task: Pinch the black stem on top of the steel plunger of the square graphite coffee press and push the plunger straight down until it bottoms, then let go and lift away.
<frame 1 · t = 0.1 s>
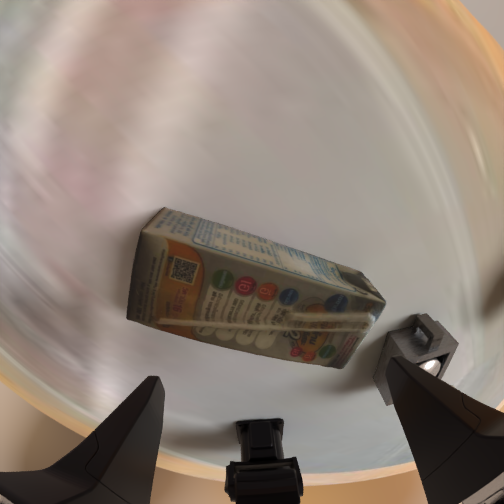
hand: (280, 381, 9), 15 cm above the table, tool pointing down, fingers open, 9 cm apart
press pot: (406, 351, 29), on the table
beverage carton: (255, 276, 24), on the table
plunger: (437, 397, 21), point 9 cm above the table, slide at 0.0 cm
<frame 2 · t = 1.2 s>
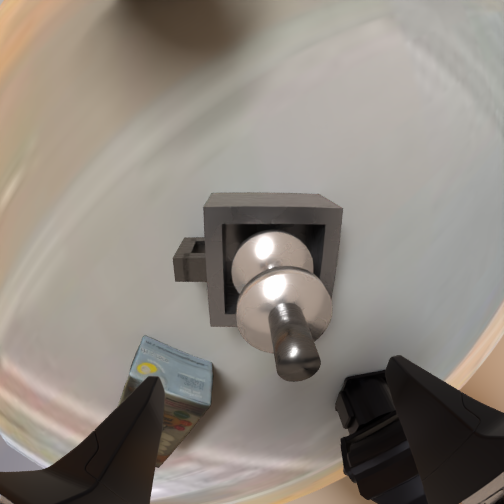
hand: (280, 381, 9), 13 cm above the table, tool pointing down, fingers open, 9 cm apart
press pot: (265, 244, 21), on the table
beverage carton: (156, 394, 28), on the table
plunger: (282, 304, 13), point 9 cm above the table, slide at 0.0 cm
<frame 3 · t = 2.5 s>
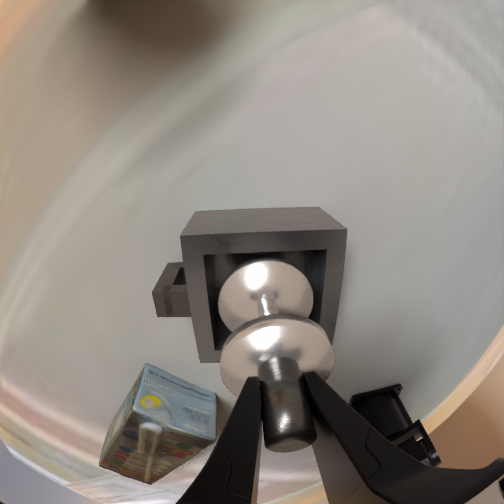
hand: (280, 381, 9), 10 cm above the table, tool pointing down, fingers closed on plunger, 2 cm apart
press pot: (259, 266, 19), on the table
beverage carton: (152, 416, 26), on the table
plunger: (275, 353, 11), point 9 cm above the table, slide at 0.0 cm, touching gripper
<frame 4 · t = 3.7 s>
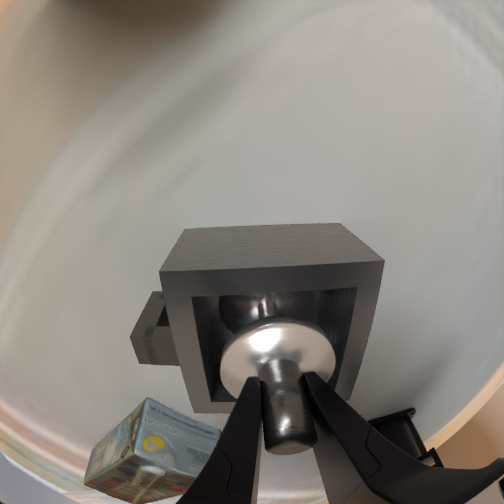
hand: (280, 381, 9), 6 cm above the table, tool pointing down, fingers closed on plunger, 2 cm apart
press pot: (264, 295, 15), on the table
beverage carton: (144, 441, 22), on the table
plunger: (275, 354, 11), point 5 cm above the table, slide at 3.8 cm, touching gripper
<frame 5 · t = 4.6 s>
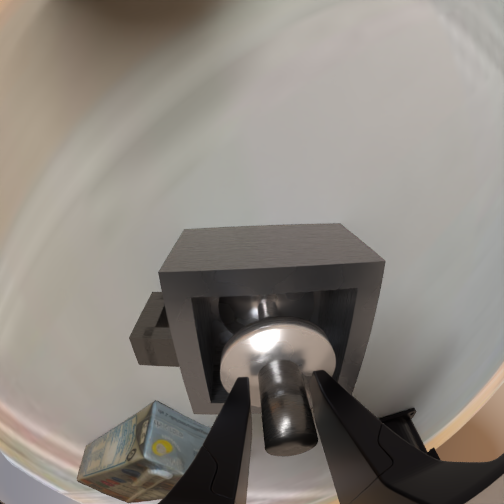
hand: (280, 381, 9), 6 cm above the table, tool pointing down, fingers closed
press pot: (264, 295, 15), on the table
beverage carton: (143, 441, 22), on the table
plunger: (275, 355, 10), point 5 cm above the table, slide at 3.8 cm
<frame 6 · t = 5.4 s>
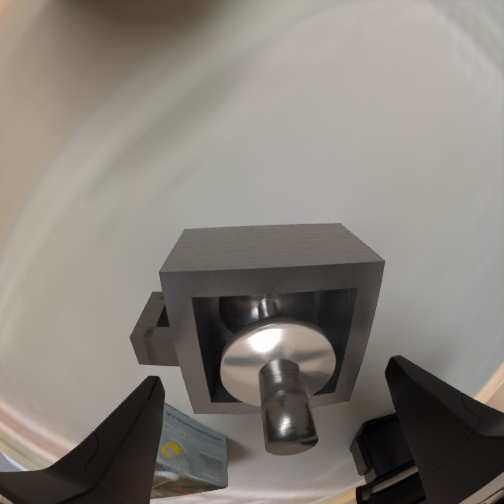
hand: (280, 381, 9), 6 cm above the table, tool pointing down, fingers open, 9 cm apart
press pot: (264, 295, 15), on the table
beverage carton: (142, 440, 22), on the table
plunger: (275, 355, 11), point 5 cm above the table, slide at 3.8 cm
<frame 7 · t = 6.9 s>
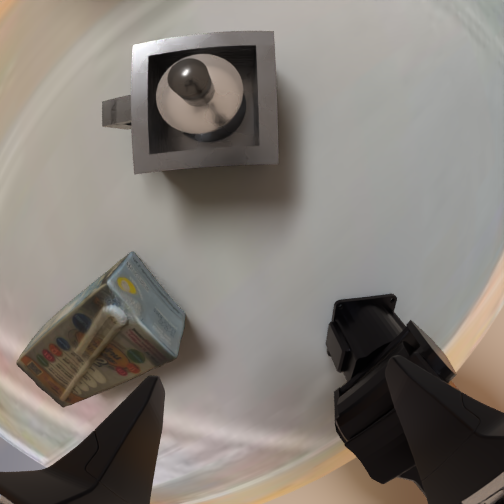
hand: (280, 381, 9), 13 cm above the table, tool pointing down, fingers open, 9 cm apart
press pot: (210, 109, 17), on the table
beverage carton: (99, 324, 24), on the table
plunger: (201, 96, 13), point 5 cm above the table, slide at 3.8 cm
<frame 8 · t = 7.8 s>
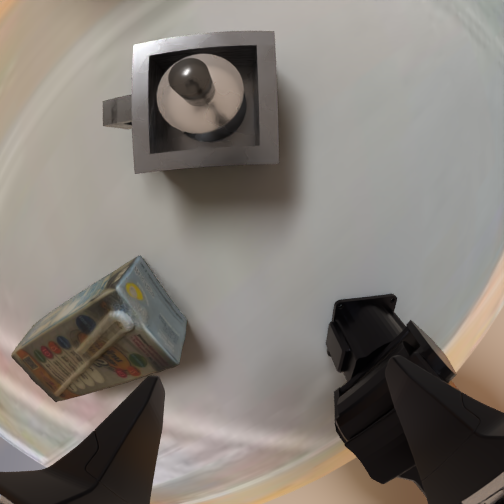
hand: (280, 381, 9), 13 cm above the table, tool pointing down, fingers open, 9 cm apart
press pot: (210, 108, 17), on the table
beverage carton: (98, 323, 24), on the table
plunger: (201, 95, 13), point 5 cm above the table, slide at 3.8 cm
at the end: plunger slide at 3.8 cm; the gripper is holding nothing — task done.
